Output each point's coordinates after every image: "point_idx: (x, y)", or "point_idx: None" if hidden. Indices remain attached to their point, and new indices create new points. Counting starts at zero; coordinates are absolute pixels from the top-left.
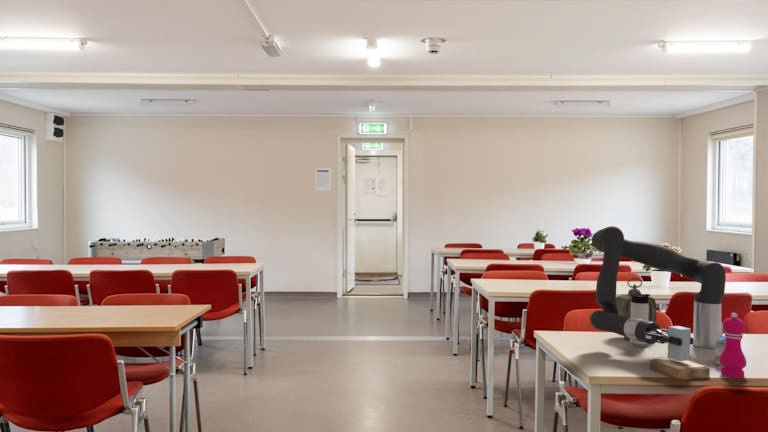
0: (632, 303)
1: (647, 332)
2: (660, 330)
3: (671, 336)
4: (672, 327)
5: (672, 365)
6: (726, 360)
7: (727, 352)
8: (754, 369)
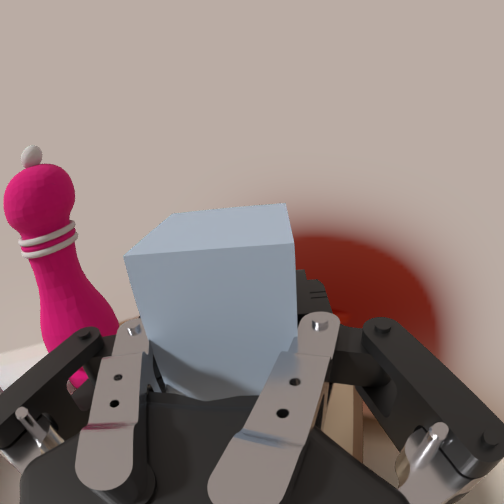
0: None
1: (496, 433)
2: (248, 435)
3: (300, 314)
4: (285, 228)
5: (342, 405)
6: (111, 325)
7: (93, 300)
8: (3, 361)
